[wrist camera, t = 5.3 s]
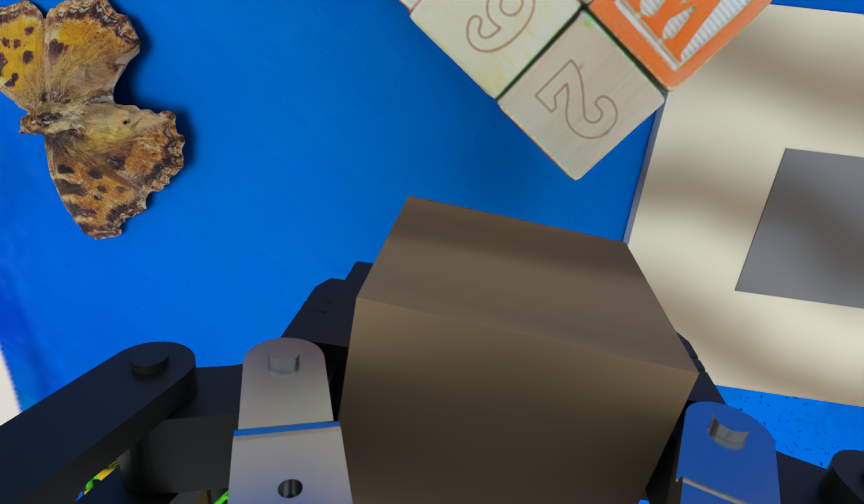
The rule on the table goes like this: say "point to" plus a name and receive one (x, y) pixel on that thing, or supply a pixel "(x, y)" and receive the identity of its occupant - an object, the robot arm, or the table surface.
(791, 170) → the cream flat pad
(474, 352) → the walnut cube
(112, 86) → the butterfly model
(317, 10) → the table surface
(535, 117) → the stack of blocks
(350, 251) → the table surface
